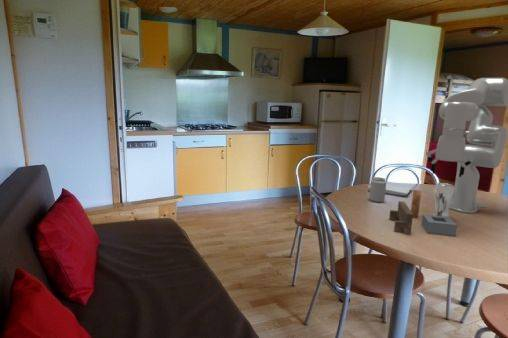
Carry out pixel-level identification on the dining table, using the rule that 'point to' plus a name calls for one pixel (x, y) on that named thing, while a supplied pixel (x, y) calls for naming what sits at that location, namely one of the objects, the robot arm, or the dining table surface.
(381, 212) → the dining table surface
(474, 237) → the dining table surface
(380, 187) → the can
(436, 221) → the hole block
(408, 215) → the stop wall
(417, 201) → the dowel
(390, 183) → the salad plate
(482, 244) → the dining table surface
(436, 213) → the beer glass
